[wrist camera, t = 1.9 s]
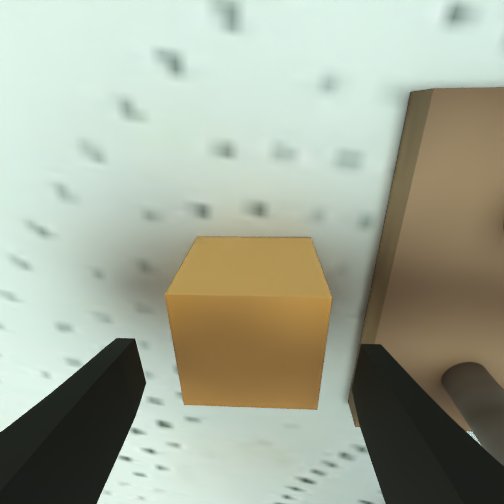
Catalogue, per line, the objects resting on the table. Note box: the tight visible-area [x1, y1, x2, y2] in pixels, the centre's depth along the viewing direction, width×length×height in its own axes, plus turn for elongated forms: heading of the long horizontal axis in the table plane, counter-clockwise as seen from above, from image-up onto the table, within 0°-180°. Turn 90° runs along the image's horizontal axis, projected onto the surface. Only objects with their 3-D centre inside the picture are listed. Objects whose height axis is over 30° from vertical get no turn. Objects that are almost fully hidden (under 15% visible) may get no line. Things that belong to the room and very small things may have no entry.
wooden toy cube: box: [165, 237, 332, 410], centre depth 12 cm, size 5×5×4 cm
